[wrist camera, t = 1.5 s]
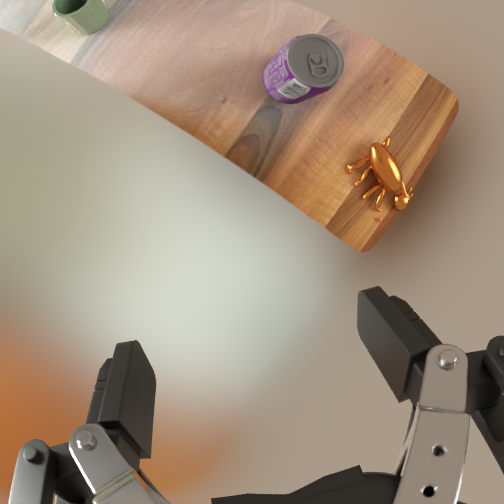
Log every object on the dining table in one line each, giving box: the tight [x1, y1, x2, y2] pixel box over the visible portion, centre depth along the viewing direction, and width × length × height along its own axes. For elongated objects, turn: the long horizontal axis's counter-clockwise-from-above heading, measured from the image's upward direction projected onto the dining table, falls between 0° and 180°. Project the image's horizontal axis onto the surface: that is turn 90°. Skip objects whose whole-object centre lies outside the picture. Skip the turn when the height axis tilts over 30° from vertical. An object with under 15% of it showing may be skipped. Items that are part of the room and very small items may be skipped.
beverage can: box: [263, 34, 344, 104], centre depth 34 cm, size 7×7×12 cm
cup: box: [52, 0, 109, 35], centre depth 28 cm, size 6×6×8 cm
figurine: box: [347, 136, 413, 222], centre depth 44 cm, size 12×4×11 cm
